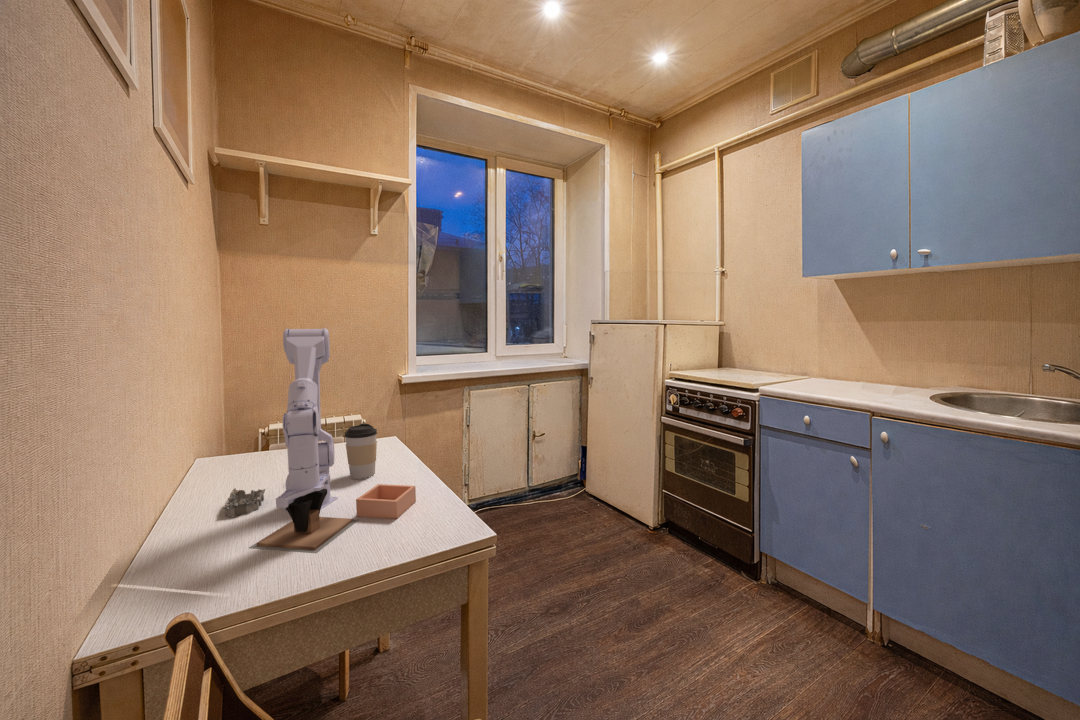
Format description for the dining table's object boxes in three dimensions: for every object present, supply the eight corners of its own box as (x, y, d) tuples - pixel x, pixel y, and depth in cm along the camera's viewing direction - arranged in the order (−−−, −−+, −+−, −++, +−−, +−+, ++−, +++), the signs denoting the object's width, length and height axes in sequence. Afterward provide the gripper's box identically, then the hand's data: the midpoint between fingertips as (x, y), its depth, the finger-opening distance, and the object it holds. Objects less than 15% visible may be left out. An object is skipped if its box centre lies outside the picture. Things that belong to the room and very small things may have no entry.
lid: (256, 545, 90) (255, 523, 89) (300, 518, 102) (299, 498, 102) (315, 550, 88) (314, 527, 87) (352, 521, 100) (351, 501, 100)
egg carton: (234, 503, 114) (233, 487, 113) (268, 498, 116) (267, 483, 116) (220, 519, 104) (219, 502, 103) (257, 514, 106) (256, 498, 106)
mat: (248, 549, 89) (248, 547, 89) (299, 517, 104) (299, 516, 104) (316, 554, 86) (316, 552, 86) (359, 521, 101) (359, 519, 101)
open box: (356, 518, 103) (356, 499, 103) (378, 501, 113) (378, 484, 112) (397, 520, 101) (396, 501, 101) (415, 503, 111) (415, 485, 111)
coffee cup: (371, 480, 128) (369, 429, 127) (340, 480, 128) (338, 429, 127) (383, 470, 137) (381, 422, 136) (354, 470, 137) (352, 422, 136)
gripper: (297, 477, 86) (300, 545, 87) (341, 455, 100) (344, 514, 101) (264, 476, 87) (268, 542, 88) (313, 454, 101) (316, 512, 103)
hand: (307, 527), depth 95 cm, fingers closed on lid, 3 cm apart
